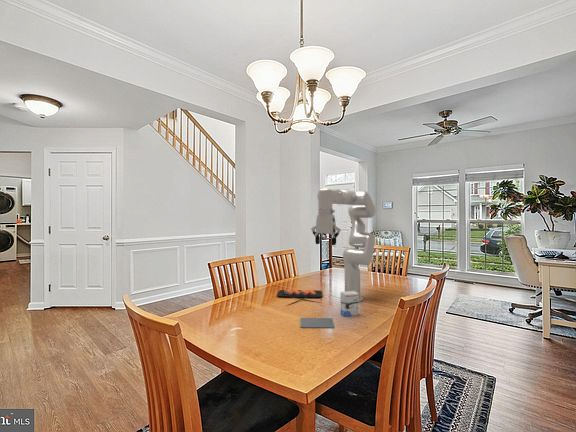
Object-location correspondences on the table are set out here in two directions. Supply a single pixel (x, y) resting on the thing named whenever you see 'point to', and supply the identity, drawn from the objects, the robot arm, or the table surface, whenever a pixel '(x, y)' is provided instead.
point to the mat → (316, 323)
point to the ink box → (349, 303)
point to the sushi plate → (300, 294)
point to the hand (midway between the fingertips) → (325, 244)
